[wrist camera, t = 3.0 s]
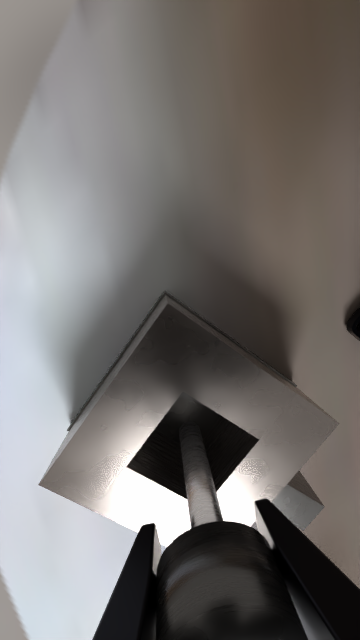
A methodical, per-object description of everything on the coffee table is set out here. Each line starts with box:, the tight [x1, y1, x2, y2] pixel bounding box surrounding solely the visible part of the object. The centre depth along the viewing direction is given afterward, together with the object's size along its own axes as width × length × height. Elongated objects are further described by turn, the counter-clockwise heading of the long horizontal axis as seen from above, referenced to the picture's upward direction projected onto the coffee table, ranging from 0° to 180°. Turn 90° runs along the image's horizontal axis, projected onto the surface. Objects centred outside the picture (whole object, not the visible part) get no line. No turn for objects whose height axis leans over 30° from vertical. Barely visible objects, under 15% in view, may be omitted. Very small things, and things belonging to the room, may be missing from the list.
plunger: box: [156, 422, 308, 640], centre depth 8 cm, size 3×3×7 cm
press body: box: [39, 291, 339, 547], centre depth 12 cm, size 9×12×4 cm
